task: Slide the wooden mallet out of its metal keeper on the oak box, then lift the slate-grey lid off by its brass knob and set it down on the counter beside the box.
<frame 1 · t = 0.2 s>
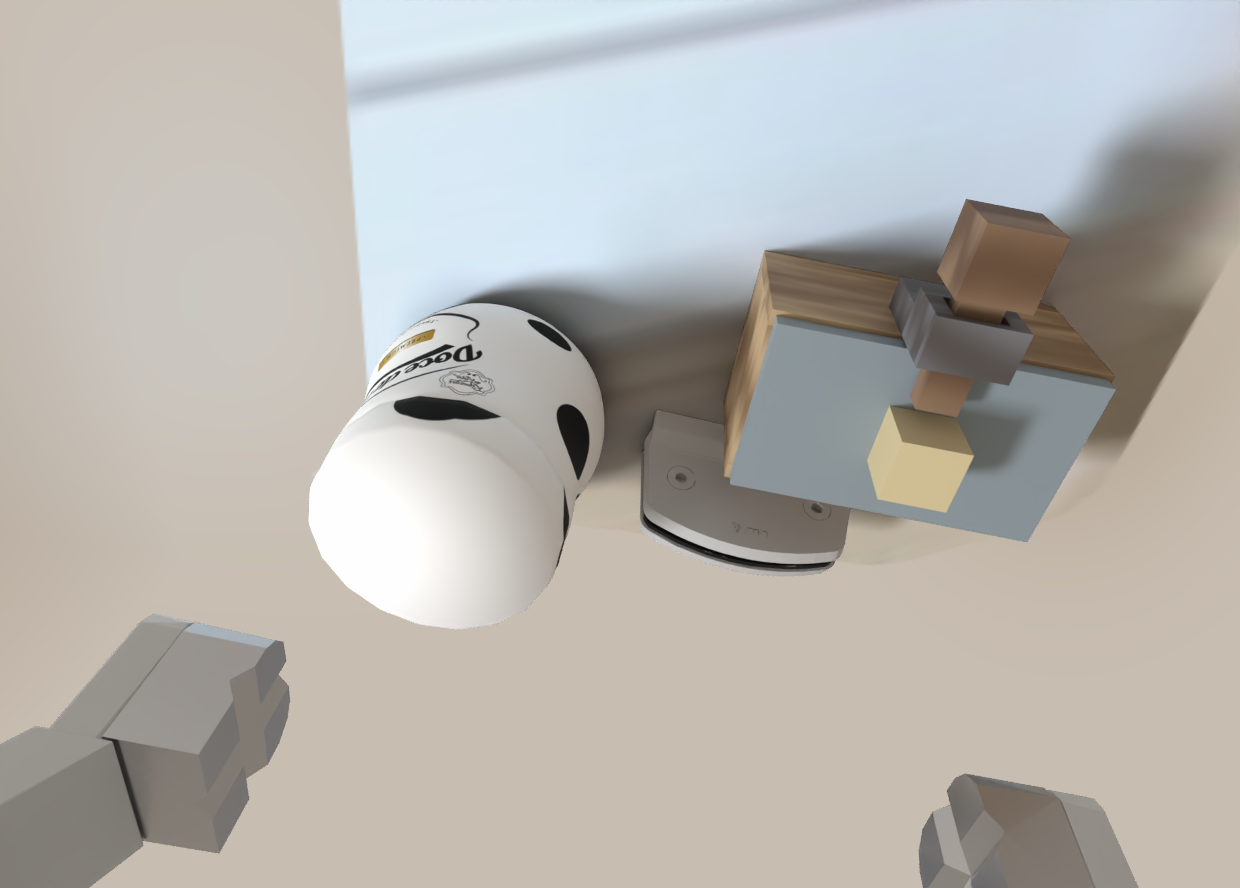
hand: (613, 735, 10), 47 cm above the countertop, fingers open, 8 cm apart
lid: (906, 429, 49), point 10 cm above the countertop, touching box
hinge: (743, 469, 64), on the countertop
box: (879, 356, 57), on the countertop
wooden mallet: (971, 319, 43), point 12 cm above the countertop, slide at 0.0 cm
milk container: (501, 390, 63), on the countertop
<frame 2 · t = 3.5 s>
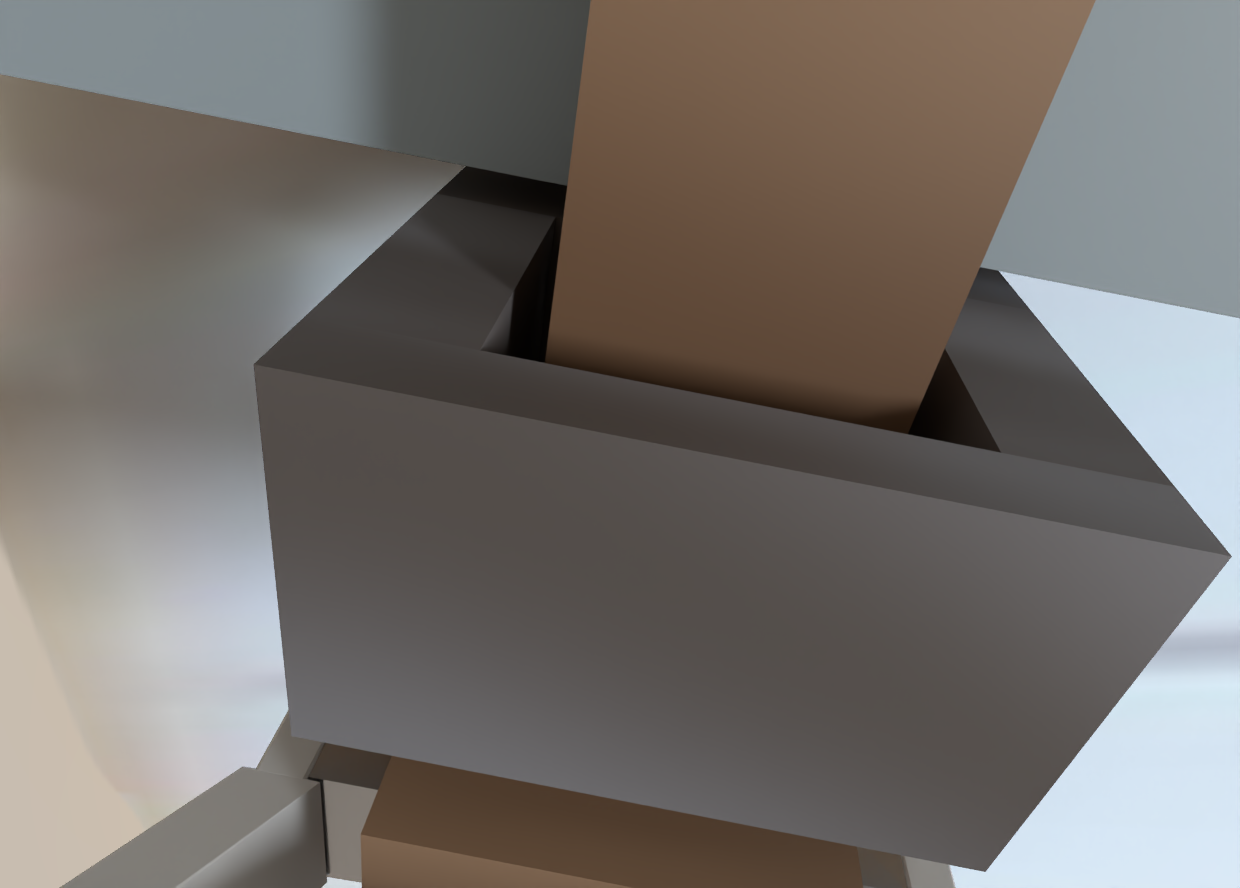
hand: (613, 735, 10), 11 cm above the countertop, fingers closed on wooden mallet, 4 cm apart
wooden mallet: (667, 567, 7), point 12 cm above the countertop, slide at 0.0 cm, touching gripper
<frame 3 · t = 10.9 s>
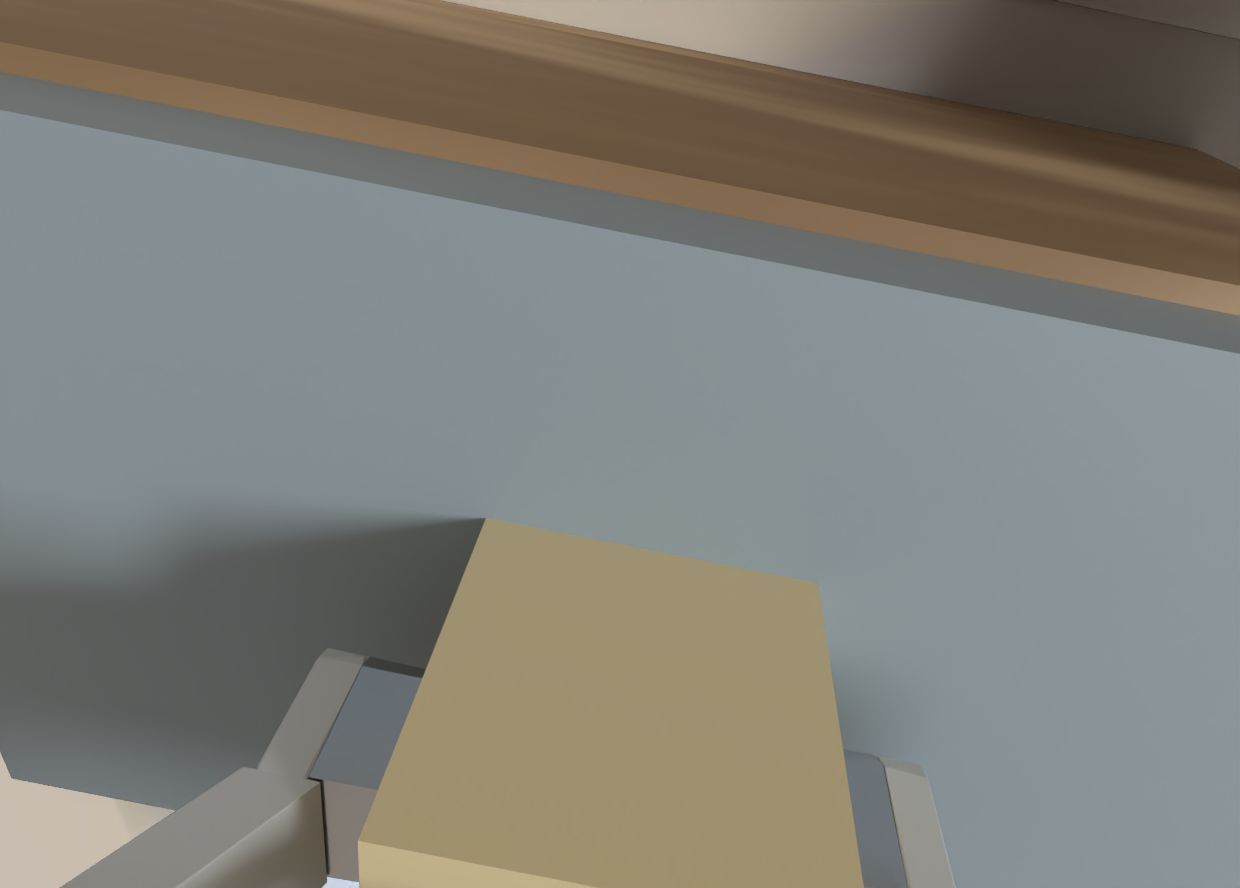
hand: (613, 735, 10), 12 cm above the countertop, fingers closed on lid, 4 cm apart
lid: (632, 600, 12), point 10 cm above the countertop, touching box, gripper
box: (669, 318, 20), on the countertop
when the fingers open (5 cm above the countertop, at t = 20.8 s): lid drops 2 cm, point 1 cm above the countertop.
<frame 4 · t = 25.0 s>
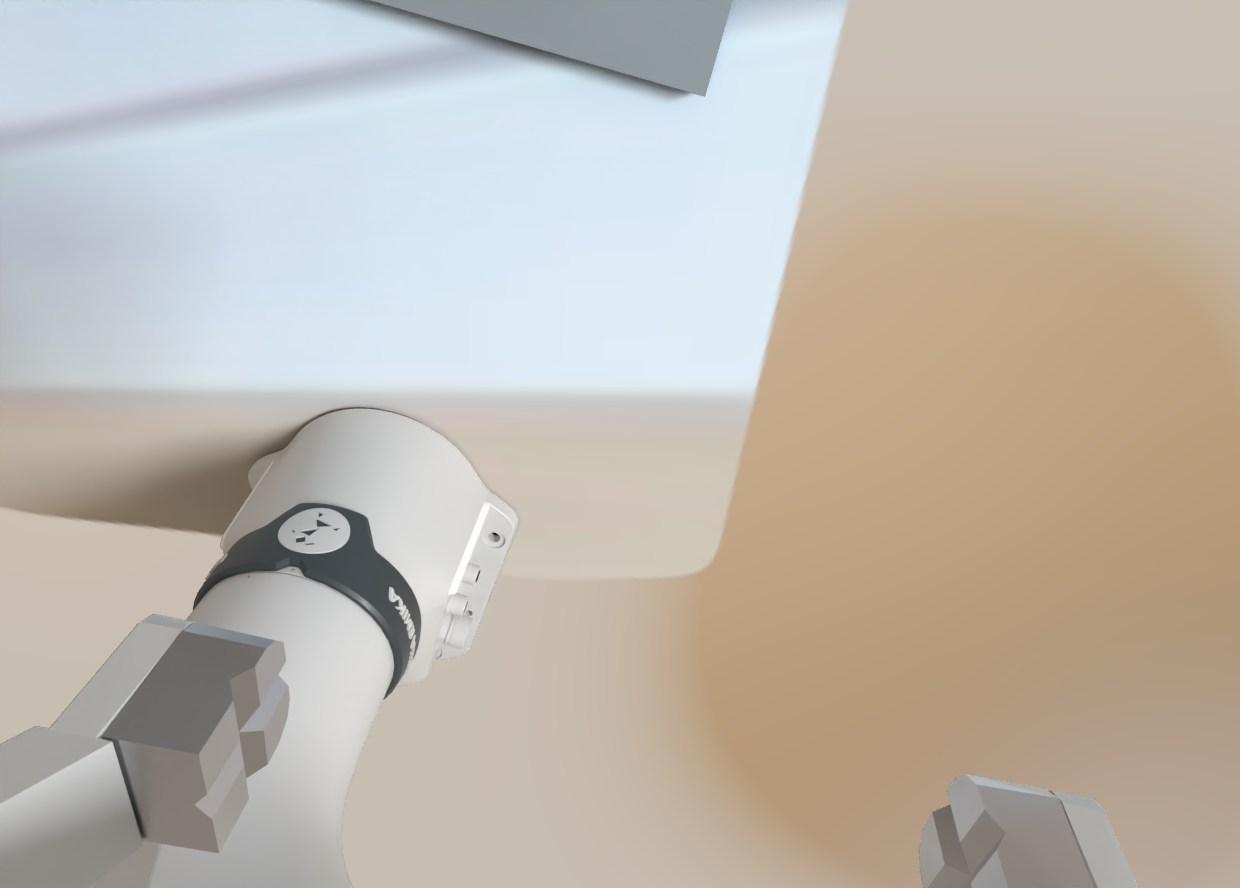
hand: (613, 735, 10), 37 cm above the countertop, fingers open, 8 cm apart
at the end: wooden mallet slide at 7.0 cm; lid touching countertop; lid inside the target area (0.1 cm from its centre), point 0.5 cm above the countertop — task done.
